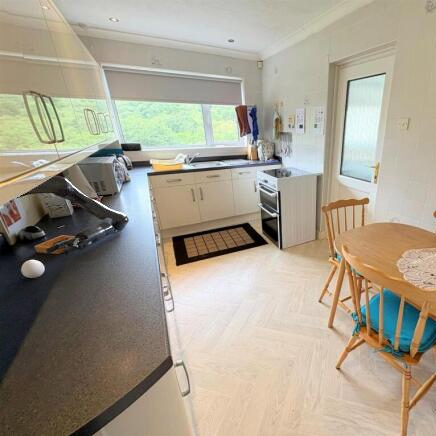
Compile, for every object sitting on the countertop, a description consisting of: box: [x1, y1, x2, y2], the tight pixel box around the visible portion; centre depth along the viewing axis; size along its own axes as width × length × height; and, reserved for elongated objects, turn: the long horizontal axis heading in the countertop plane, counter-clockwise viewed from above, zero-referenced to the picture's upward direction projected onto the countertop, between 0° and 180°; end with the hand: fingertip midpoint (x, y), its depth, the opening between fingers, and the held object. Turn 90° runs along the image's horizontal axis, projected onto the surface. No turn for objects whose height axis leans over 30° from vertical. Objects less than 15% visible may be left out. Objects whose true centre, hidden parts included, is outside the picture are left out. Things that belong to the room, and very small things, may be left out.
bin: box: [34, 234, 76, 255], centre depth 114 cm, size 12×12×4 cm
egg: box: [20, 259, 45, 279], centre depth 91 cm, size 6×6×8 cm
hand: (55, 251), depth 99 cm, fingers open, 8 cm apart
